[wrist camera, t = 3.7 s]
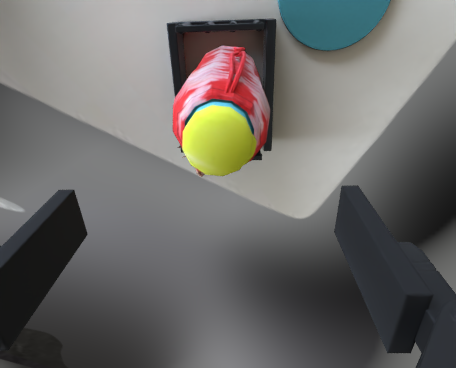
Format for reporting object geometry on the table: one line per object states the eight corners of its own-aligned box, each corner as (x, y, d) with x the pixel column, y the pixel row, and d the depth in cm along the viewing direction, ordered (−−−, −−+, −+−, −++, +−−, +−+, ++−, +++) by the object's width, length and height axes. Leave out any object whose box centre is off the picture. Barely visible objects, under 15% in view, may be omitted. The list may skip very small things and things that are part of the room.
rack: (185, 141, 45) (176, 163, 39) (173, 22, 38) (160, 24, 32) (268, 140, 45) (274, 161, 39) (272, 18, 38) (279, 19, 31)
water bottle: (236, 136, 45) (234, 256, 23) (182, 116, 44) (127, 222, 22) (271, 52, 39) (314, 101, 17) (211, 26, 38) (176, 45, 16)
